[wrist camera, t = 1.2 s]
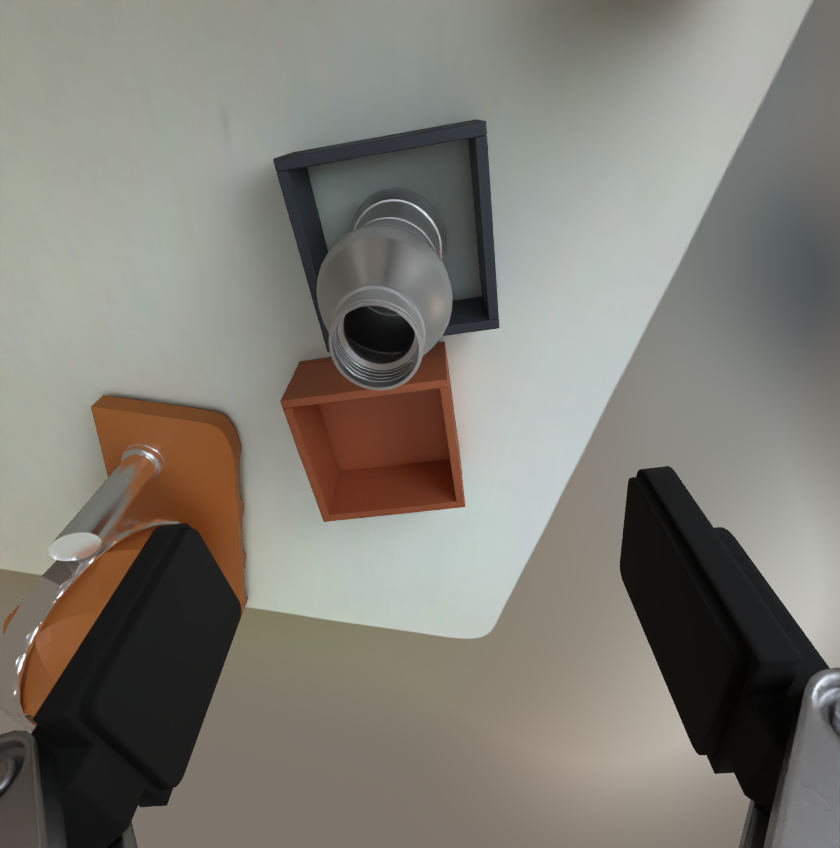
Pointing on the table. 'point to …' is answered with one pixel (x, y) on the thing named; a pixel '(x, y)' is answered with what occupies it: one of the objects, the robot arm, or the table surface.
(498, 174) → the table surface
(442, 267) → the metal bottle
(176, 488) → the desk clock
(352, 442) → the terracotta bin
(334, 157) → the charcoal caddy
